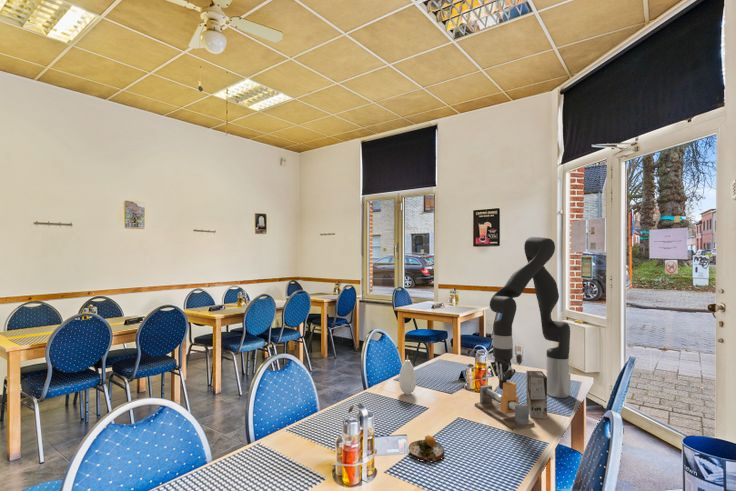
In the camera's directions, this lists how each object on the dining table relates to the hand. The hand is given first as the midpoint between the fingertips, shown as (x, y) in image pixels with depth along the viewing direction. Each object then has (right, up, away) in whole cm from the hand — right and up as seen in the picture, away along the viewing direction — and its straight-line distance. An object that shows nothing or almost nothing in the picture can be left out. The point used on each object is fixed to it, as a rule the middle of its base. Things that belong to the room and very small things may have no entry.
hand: (502, 388), depth 164 cm
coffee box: (+14, -11, +1) cm, 18 cm away
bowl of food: (-35, -11, -30) cm, 47 cm away
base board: (0, -11, 0) cm, 11 cm away
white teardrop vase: (-36, -11, +23) cm, 44 cm away
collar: (+1, -7, -4) cm, 9 cm away
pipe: (0, -11, 0) cm, 11 cm away
